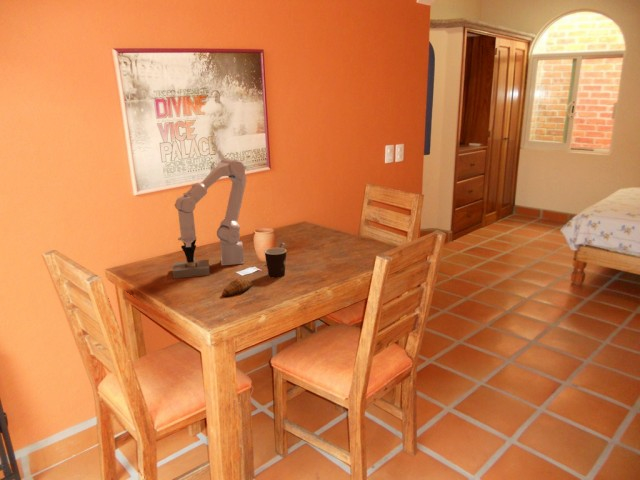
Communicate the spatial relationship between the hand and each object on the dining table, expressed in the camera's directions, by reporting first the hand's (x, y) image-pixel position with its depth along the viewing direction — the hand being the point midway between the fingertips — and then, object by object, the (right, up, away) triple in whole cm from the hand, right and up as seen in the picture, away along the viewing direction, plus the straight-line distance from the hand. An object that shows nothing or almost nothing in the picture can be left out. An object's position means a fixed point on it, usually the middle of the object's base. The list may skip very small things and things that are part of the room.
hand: (190, 259), depth 195 cm
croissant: (+22, -11, -19) cm, 31 cm away
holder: (0, -5, +2) cm, 6 cm away
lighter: (+34, -2, +12) cm, 37 cm away
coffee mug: (+36, -6, -2) cm, 36 cm away
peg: (0, -5, +2) cm, 6 cm away
